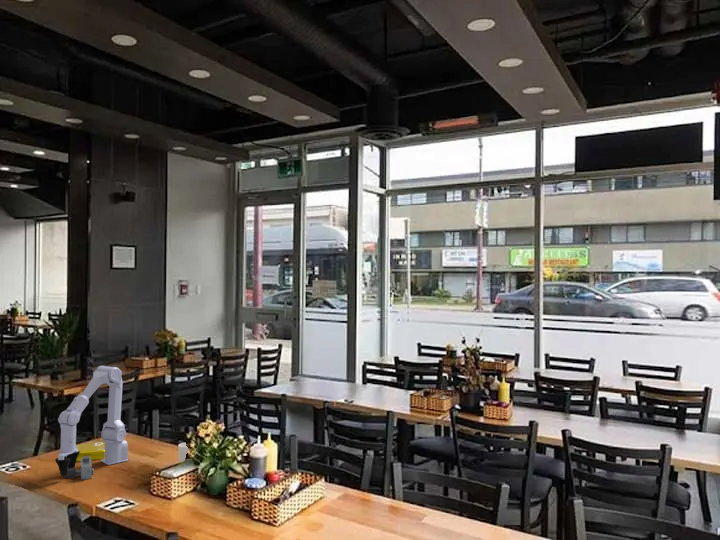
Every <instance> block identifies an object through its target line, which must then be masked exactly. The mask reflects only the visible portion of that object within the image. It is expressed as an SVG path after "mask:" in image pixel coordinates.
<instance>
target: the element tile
mask: <svg viewBox="0 0 720 540" xmlns="http://www.w3.org/2000/svg"><path fill="white" fill-rule="evenodd" d="M76 445H77V449H78V450H79V451H80V453H79V455H78V457H77V460H76V463H77V462H79V463H81V459H83V456H89V458H91V461H96V460H97V461H99V460H104V459H105V442H104V441H103V442H102V441H101V442H100V441H99V442H91V443H81V444H76Z"/></svg>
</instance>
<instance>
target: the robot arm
mask: <svg viewBox="0 0 720 540" xmlns="http://www.w3.org/2000/svg"><path fill="white" fill-rule="evenodd" d="M92 374H93V375H92V378H91V379H90V381H89V382H88V384H87V386H86V387H85V389H84V390H83V392H82V393H81V394H78V395H76V396H75V397H74V398H73V400H72V402H71V403H70V404H69V406H68V407H67V408H66V409H65V410H64V411H62V412H61V413H60V414H59V415H58V416H59V417H58V418H57V422H58V423H59V424H60V425H59V427H60V451H59V453H58V455H57V457H56V458H55V463H56V464H57V467H58V470H59V473H60V476H64V475H67V471H68V468H72V467H76V464H77V462H76V460H77V457H78V455H79V453H80V451H79V450H78V449H77V445H78V444H77V443H76V442H77V424H78V423H79V422H80V419H81V416H82V413H83V411H84V410H85V409H86V407H88V405H89V403H90V401H89V399H90V398H91V397H92V395H93V394H94V393H95V392H96V391H97V390H98V388H99V387H100V386H102V385H107V386H109V390H108V406H107V407H108V408H107V421H106V422H103V425H102V426H103V427H102V431H101V436H100V437H101V439H102V440H103V442H105V459H100V462H102V463H104V464H105V465H107V466H110V465H114V464H118V463H119V464H120V463H123V462H128V461H129V459H128V457H129V445H128V442H127V440H125V439H126V436H127V431H126V428H125V426H126V425H125V424H124V422H123V421H122V420H121V416H122V401H123V398H122V397H123V379H122V378H123V377H122V374H123V371H122V370H121V369H120V368H119V367H117V366H106V365H99V366H98V367H97V368H96V369H95V370H94V372H93V373H92Z"/></svg>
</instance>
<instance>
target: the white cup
mask: <svg viewBox="0 0 720 540" xmlns="http://www.w3.org/2000/svg"><path fill="white" fill-rule="evenodd" d="M177 447H178V448H177V449H178V451H177V452H178V453H177V454H178V464H179V463H180V462H183V461H184V460H185V458H186V454H187V453H188V447H187V446H186V442H181V443H179V444H178V446H177Z"/></svg>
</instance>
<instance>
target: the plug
mask: <svg viewBox="0 0 720 540" xmlns="http://www.w3.org/2000/svg"><path fill="white" fill-rule="evenodd" d="M94 471H95V468H93V467H92V476H93V475H94V474H95V472H94ZM63 476H64V477H63V478H64V479H68V478H69V479H70V478H76V477H77V478H78V477H81V470H80V469H77V467H76V466H75V467H72V468H68V471H67V475H63Z"/></svg>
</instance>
